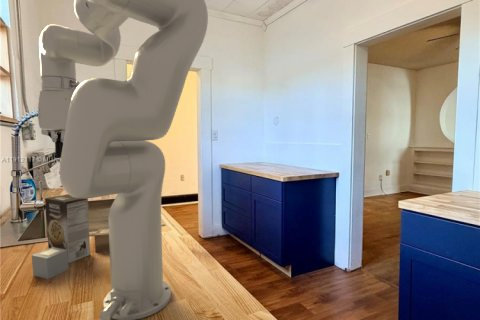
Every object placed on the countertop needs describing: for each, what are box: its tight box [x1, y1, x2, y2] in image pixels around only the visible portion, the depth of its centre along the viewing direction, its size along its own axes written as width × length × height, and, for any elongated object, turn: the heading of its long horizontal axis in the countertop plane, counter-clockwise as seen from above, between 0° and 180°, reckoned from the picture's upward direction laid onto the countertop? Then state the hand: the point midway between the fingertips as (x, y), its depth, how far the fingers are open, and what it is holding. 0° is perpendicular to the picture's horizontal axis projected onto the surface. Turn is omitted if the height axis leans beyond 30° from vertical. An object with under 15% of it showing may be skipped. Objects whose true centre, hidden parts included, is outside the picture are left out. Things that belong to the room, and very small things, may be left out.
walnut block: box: [93, 228, 110, 253], centre depth 81 cm, size 5×5×5 cm
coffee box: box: [44, 193, 91, 264], centre depth 75 cm, size 9×6×16 cm
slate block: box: [31, 247, 69, 280], centre depth 67 cm, size 5×5×5 cm
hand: (63, 157), depth 74 cm, fingers closed
